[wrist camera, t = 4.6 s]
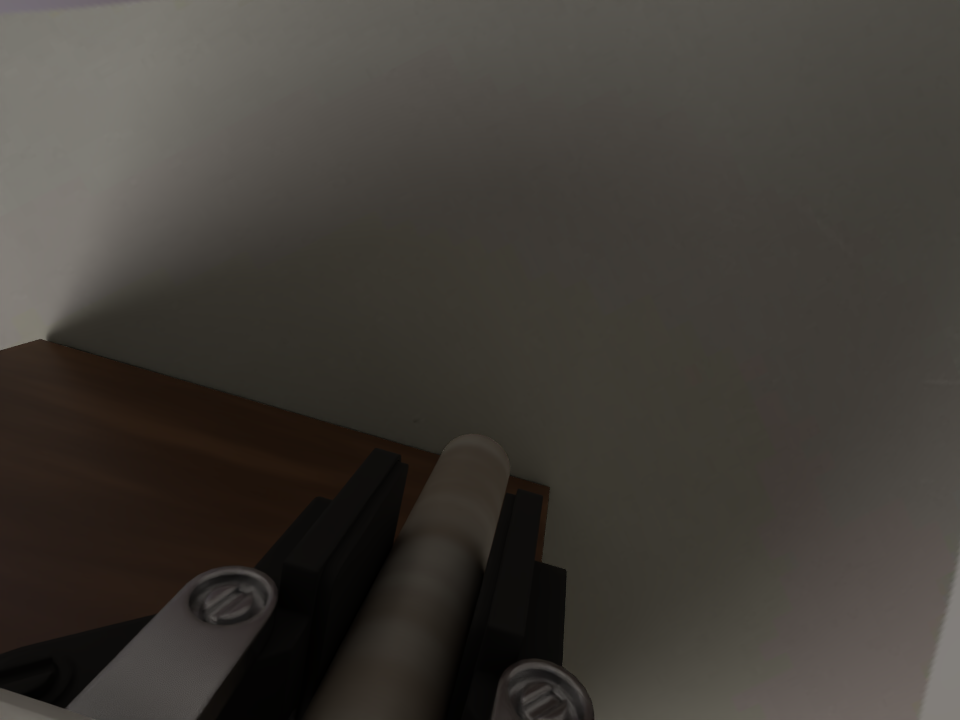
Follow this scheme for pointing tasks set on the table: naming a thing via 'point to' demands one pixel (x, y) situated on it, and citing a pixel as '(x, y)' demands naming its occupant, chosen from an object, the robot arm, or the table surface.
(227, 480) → the cupboard door
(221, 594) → the robot arm
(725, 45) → the table surface
